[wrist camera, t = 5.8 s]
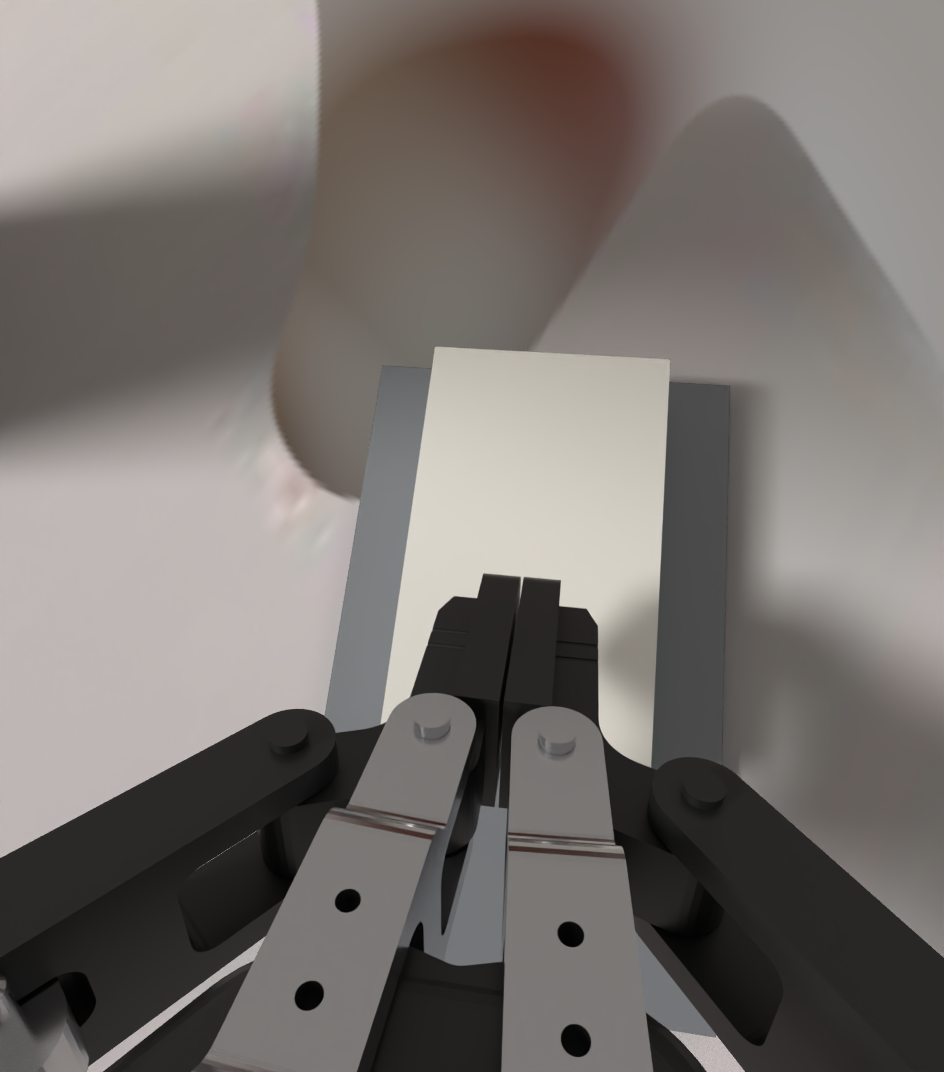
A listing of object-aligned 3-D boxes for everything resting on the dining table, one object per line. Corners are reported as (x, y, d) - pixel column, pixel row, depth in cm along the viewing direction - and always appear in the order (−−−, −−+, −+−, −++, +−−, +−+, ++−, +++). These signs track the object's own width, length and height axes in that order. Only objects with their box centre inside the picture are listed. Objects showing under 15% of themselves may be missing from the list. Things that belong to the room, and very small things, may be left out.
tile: (377, 742, 16) (435, 346, 19) (397, 743, 18) (446, 388, 21) (650, 776, 16) (670, 359, 18) (637, 772, 18) (656, 401, 20)
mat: (289, 961, 18) (283, 966, 17) (385, 372, 22) (382, 365, 21) (711, 1030, 16) (716, 1037, 16) (726, 392, 21) (729, 385, 20)
